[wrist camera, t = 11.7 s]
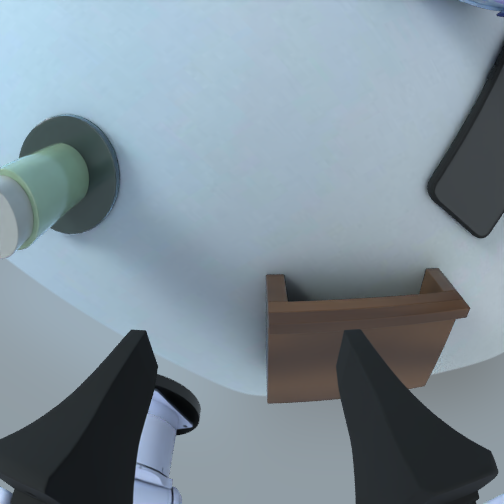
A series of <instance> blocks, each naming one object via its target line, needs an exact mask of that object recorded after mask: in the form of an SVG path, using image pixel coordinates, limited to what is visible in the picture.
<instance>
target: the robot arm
mask: <svg viewBox="0 0 504 504" xmlns="http://www.w3.org/2000/svg"><path fill="white" fill-rule="evenodd" d="M157 369H158V365H157V362H156V359H155V357H154V353H153V350H152V347H151V344H150V341H149V338H148V335H147V332H146V331H145V330H131V331H130V332H129V333H128V334H127V335H126V336H125V337H124V338H123V339H122V341H121V342H120V343H119V344H118V345H117V346H116V347H115V349H114V350H113V351H112V352H111V353H110V354H109V356H108V357H107V358H106V359H105V360H104V361H103V362H102V363H101V364H100V366H99V367H98V368H97V369H96V370H95V371H94V372H93V373H92V374H91V375H90V376H89V377H88V378H87V379H86V380H85V381H84V382H83V383H82V384H81V385H80V386H79V387H78V388H77V389H76V390H75V391H74V392H73V393H72V394H71V395H70V396H68V397H67V398H66V399H65V400H64V401H62V402H61V403H60V404H59V405H57V406H56V407H55V408H53V409H52V410H50V411H49V412H48V413H46V414H45V415H44V416H42V417H41V418H39V419H38V420H36V421H35V422H33V423H31V424H29V425H28V426H26V427H24V428H23V429H21V430H19V431H17V432H15V433H13V434H11V435H8V436H7V437H4V438H2V439H0V479H2V480H3V481H5V482H6V483H7V484H9V485H10V486H12V487H13V488H14V489H15V490H14V492H13V493H11V492H9V491H8V490H6V489H4V488H2V487H0V504H182V497H181V494H180V493H179V491H178V489H177V488H175V487H172V482H173V479H171V478H169V474H170V468H171V461H172V454H173V448H174V443H175V437H176V431H177V429H183V428H191V427H193V423H192V422H191V421H190V420H189V419H188V418H187V417H186V416H185V415H184V414H183V413H181V412H180V411H179V410H178V409H177V408H176V407H175V406H174V405H173V404H172V403H171V402H170V401H169V400H168V399H167V398H166V397H165V396H164V395H163V394H162V393H161V392H160V391H159V390H158V389H155V382H156V376H157ZM336 372H337V381H338V388H339V394H340V398H341V402H342V406H343V410H344V415H345V419H346V423H347V427H348V431H349V436H350V440H351V446H352V453H353V463H354V476H355V492H356V494H355V495H356V504H476V500H478V499H479V495H478V490H479V489H481V488H482V487H484V486H485V485H486V484H488V483H489V482H490V481H491V480H493V479H494V478H495V477H496V476H497V474H498V469H497V466H496V463H495V460H494V457H493V455H492V453H491V451H490V450H487V449H486V448H484V447H482V446H480V445H478V444H476V443H475V442H473V441H471V440H469V439H468V438H466V437H465V436H463V435H462V434H460V433H458V432H457V431H455V430H454V429H453V428H451V427H450V426H449V425H447V424H446V423H445V422H444V421H442V420H441V419H440V418H438V417H437V416H436V415H435V414H433V413H432V412H431V411H430V410H429V409H428V408H427V407H426V406H424V405H423V404H422V403H421V402H420V401H419V400H418V399H417V398H416V397H415V396H414V395H413V394H412V393H411V392H410V391H409V390H408V388H407V387H406V386H405V385H404V384H403V383H402V382H401V381H400V380H399V378H398V377H397V376H396V375H395V374H394V372H393V371H392V370H391V369H390V367H389V366H388V365H387V364H386V363H385V361H384V360H383V359H382V357H381V356H380V355H379V353H378V352H377V351H376V349H375V348H374V347H373V345H372V344H371V343H370V341H369V340H368V339H367V337H366V336H365V334H364V333H363V332H362V330H361V329H352V330H344V333H343V337H342V342H341V346H340V351H339V355H338V359H337V364H336ZM483 504H504V493H503V494H501V495H499V496H497V497H495V498H493V499H491V500H489V501H487V502H485V503H483Z"/></svg>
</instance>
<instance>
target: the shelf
mask: <svg viewBox="0 0 504 504" xmlns="http://www.w3.org/2000/svg"><path fill="white" fill-rule="evenodd" d="M469 310H470V307H469V306H468V305H467V303H466V302H465V301H464V300H463V298H462V297H461V295H460V294H459V293H458V292H457V291H456V289H455V288H454V287H453V285H452V284H451V283H450V282H449V280H448V279H447V278H446V277H445V276H444V274H443V273H442V272H441V271H440V269H439V268H433V269H426V271H425V275H424V279H423V282H422V286H421V289H420V293H419V294H416V295H403V296H389V297H374V298H357V299H339V300H317V301H291V302H288V298H287V291H286V284H285V277H284V275H283V274H277V275H266V374H267V402H268V403H292V402H309V401H321V400H332V399H341V398H340V394H339V388H338V381H337V372H336V364H337V359H338V355H339V351H340V346H341V342H342V337H343V333H344V330H352V329H361V330H362V332H363V333H364V334H365V336H366V337H367V339H368V340H369V341H370V343H371V344H372V345H373V347H374V348H375V349H376V351H377V352H378V353H379V355H380V356H381V357H382V359H383V360H384V361H385V363H386V364H387V365H388V366H389V367H390V369H391V370H392V371H393V372H394V374H395V375H396V376H397V377H398V378H399V380H400V381H401V382H402V383H403V384H404V385H405V386H406V387H407V388H408V389H412V388H417V387H422V386H425V384H426V382H427V380H428V378H429V376H430V375H431V373H432V371H433V369H434V367H435V365H436V362H437V360H438V358H439V356H440V354H441V352H442V350H443V347H444V345H445V343H446V341H447V338H448V336H449V334H450V331H451V329H452V327H453V324H454V322H455V319H459V318H466V317H467V315H468V312H469Z"/></svg>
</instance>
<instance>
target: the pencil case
mask: <svg viewBox="0 0 504 504" xmlns="http://www.w3.org/2000/svg"><path fill="white" fill-rule="evenodd" d="M459 1H462V2H465V3H468V4H470V5H473V6H476V7H480V8H484V9H489V10H495V11H501V12H499V13H498V14H497V16H499V17H504V0H459Z"/></svg>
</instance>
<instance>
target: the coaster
mask: <svg viewBox="0 0 504 504" xmlns="http://www.w3.org/2000/svg"><path fill="white" fill-rule="evenodd" d="M56 143H63V144H67V145H70V146H71V147H73V148H75V149H76V150H77V151H78V152H79V153H80V154H81V156H82V157H83V159H84V160H85V162H86V165H87V168H88V172H89V186H88V191H87V193H86V195H85V197H84V199H83V200H82V201H81V202H80V203H79V204H78V205H77V206H76V207H74V208H73V209H72V210H71V211H70V212H68V213H67V214H66V215H65V216H64V217H62V218H61V219H60V220H59V221H58V222H56V223H55V224H54V225H53V226H52V227H51V229H53V230H56V231H59V232H62V233H67V234H77V233H82V232H86V231H88V230H90V229H92V228H94V227H95V226H97V225H98V224H99V223H100V222H101V221H102V220H103V219H104V218H105V217H106V216H107V215H108V214H109V212H110V211H111V209H112V207H113V205H114V203H115V201H116V197H117V194H118V189H119V167H118V162H117V158H116V155H115V152H114V150H113V147H112V145H111V143H110V142H109V140H108V138H107V137H106V136H105V134H104V133H103V132H102V131H101V130H100V129H99V128H98V127H97V126H96V125H94V124H93V123H92V122H90V121H88V120H87V119H85V118H82V117H79V116H76V115H58V116H54V117H51V118H48V119H46V120H44V121H42V122H41V123H39V124H38V125H37V126H36V127H35V128H34V129H33V130H32V131H31V132H30V133H29V135H28V136H27V138H26V139H25V141H24V143H23V146H22V148H21V151H20V155H19V158H21V157H23V156H26V155H28V154H30V153H33V152H35V151H37V150H40V149H42V148H45V147H47V146H49V145H52V144H56Z"/></svg>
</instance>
